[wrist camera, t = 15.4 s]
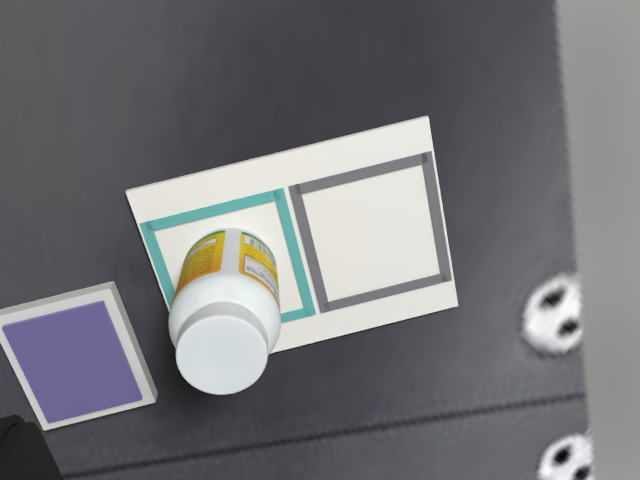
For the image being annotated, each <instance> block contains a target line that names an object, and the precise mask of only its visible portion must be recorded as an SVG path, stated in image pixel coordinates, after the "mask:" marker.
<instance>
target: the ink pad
mask: <svg viewBox="0 0 640 480" xmlns="http://www.w3.org/2000/svg"><path fill="white" fill-rule="evenodd" d="M0 343H1V345H2V347H3V349H4V351H5V353H6V355H7V357H8V359H9V361H10V363H11V365H12V367H13V369H14V371H15V373H16V375H17V377H18V379H19V381H20V383H21V385H22V387H23V390H24V392H25V394H26V396H27V398H28V400H29V402H30V404H31V406H32V408H33V410H34V412H35V414H36V416H37V418H38V420H39V422H40V424H41V426H42V428H43V430H44V431H45V430H49V429H53V428H57V427H61V426H64V425H68V424H72V423H76V422H80V421H84V420H88V419H92V418H96V417H100V416H104V415H108V414H112V413H116V412H120V411H124V410H128V409H132V408H136V407H139V406H143V405H147V404H151V403H155V402H156V398H157V394H158V392H157V389H156V387H155V384H154V382H153V379H152V377H151V374H150V372H149V369H148V366H147V364H146V361H145V359H144V356H143V354H142V351H141V349H140V346H139V344H138V341H137V339H136V336H135V333H134V331H133V328H132V326H131V323H130V321H129V318H128V316H127V313H126V311H125V308H124V305H123V303H122V300H121V298H120V295H119V293H118V290H117V288H116V285H115V283H114V281H112V282H108V283H104V284H100V285H96V286H92V287H88V288H84V289H80V290H76V291H72V292H68V293H64V294H60V295H56V296H52V297H48V298H44V299H40V300H36V301H32V302H28V303H24V304H20V305H16V306H12V307H8V308H4V309H0Z"/></svg>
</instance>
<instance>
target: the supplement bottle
mask: <svg viewBox="0 0 640 480" xmlns="http://www.w3.org/2000/svg"><path fill="white" fill-rule="evenodd" d="M280 329H281V312H280V299H279V286H278V273H277V265H276V260H275V257H274V255H273V253H272V251H271V249H270V248H269V246H268V245H267V244H266V243H265V242H264V241H263V240H262V239H261V238H260V237H259V236H257V235H256V234H254V233H252V232H249V231H247V230H244V229H240V228H221V229H216V230H214V231H211V232H209V233H208V234H206V235H204V236H202V237H201V238H200V239H198V240H197V241H196V242H195V243H194V244H193V245H192V247H191V248H190V249H189V251H188V253H187V255H186V257H185V260H184V263H183V267H182V270H181V274H180V278H179V281H178V285H177V288H176V292H175V295H174V299H173V302H172V306H171V309H170V313H169V333H170V337H171V340H172V343H173V345H174V347H175V348H176V363H177V366H178V368H179V371H180V373H181V374H182V376H183V377H184V379H185V380H186V381H187V382H188V383H189V384H191V385H192V386H194V387H195V388H197V389H199V390H201V391H203V392H206V393H210V394H217V395H224V394H232V393H236V392H239V391H241V390H244V389H245V388H247V387H249V386H251V385H252V384H253V383H254V382H255V381H256V380H257V379H258V378H259V377H260V375H261V374H262V372H263V371H264V368H265V366H266V362H267V357H268V355H269V354H270V353H271V351H272V350H273V348H274V347H275V345H276V343H277V340H278V338H279V334H280Z"/></svg>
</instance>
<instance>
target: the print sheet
mask: <svg viewBox="0 0 640 480" xmlns="http://www.w3.org/2000/svg"><path fill="white" fill-rule="evenodd" d="M126 195H127V197H128V200H129V203H130V206H131V209H132V211H133V214H134V217H135V220H136V222H137V225H138V228H139V231H140V233H141V236H142V239H143V242H144V244H145V247H146V250H147V253H148V255H149V258H150V261H151V264H152V266H153V269H154V272H155V275H156V277H157V280H158V283H159V286H160V288H161V291H162V294H163V297H164V300H165V302H166V305H167V308H168V311H169V313H170V309H171V306H172V302H173V299H174V295H175V292H176V288H177V285H178V281H179V278H180V274H181V270H182V267H183V263H184V260H185V257H186V255H187V253H188V251H189V249H190V248H191V247H192V245H193V244H194V243H195V242H196V241H197V240H198V239H200V238H201V237H202V236H204V235H206V234H208V233H209V232H211V231H214V230H216V229H221V228H240V229H244V230H247V231H249V232H252V233H254V234H256V235H257V236H259V237H260V238H261V239H262V240H263V241H264V242H265V243H266V244H267V245H268V246H269V248H270V249H271V251H272V253H273V255H274V257H275V260H276V265H277V273H278V286H279V299H280V312H281V329H280V334H279V338H278V340H277V343H276V345H275V347H274V348H273V350H272V351H271V353H274V352H278V351H282V350H286V349H290V348H294V347H298V346H302V345H306V344H310V343H314V342H318V341H322V340H326V339H330V338H334V337H337V336H341V335H345V334H349V333H353V332H357V331H361V330H365V329H369V328H373V327H377V326H381V325H385V324H389V323H393V322H397V321H401V320H405V319H409V318H413V317H417V316H421V315H424V314H428V313H432V312H436V311H440V310H444V309H448V308H452V307H456V306H458V301H457V295H456V289H455V282H454V276H453V270H452V263H451V257H450V251H449V244H448V238H447V232H446V225H445V219H444V213H443V206H442V200H441V194H440V187H439V181H438V175H437V168H436V162H435V156H434V149H433V143H432V137H431V130H430V124H429V118H428V116H423V117H419V118H415V119H411V120H407V121H403V122H399V123H395V124H391V125H387V126H383V127H379V128H375V129H371V130H367V131H363V132H359V133H355V134H351V135H347V136H343V137H339V138H334V139H330V140H326V141H322V142H318V143H314V144H310V145H306V146H302V147H298V148H294V149H290V150H286V151H282V152H278V153H274V154H270V155H266V156H262V157H258V158H254V159H250V160H246V161H242V162H238V163H234V164H230V165H226V166H221V167H217V168H213V169H209V170H205V171H201V172H197V173H193V174H189V175H185V176H181V177H177V178H173V179H169V180H165V181H161V182H157V183H153V184H149V185H145V186H141V187H137V188H133V189H129V190H127V191H126Z"/></svg>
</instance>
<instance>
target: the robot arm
mask: <svg viewBox="0 0 640 480" xmlns="http://www.w3.org/2000/svg"><path fill="white" fill-rule="evenodd" d="M0 480H63V478H62V476H61V473H60V471H59V469H58V467H57V465H56V463H55V461H54V459H53V456H52V454H51V452H50V450H49V448H48V446H47V444H46V442H45V440H44V437H43V435H42V433H41V431H40V429H39V428H38V426H37V425H36V424H35V423H34V422H28V423H25V421H24V420H23V419H22V418H21V417H20V416H17V415H12V416H8V417H4V418H0Z"/></svg>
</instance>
